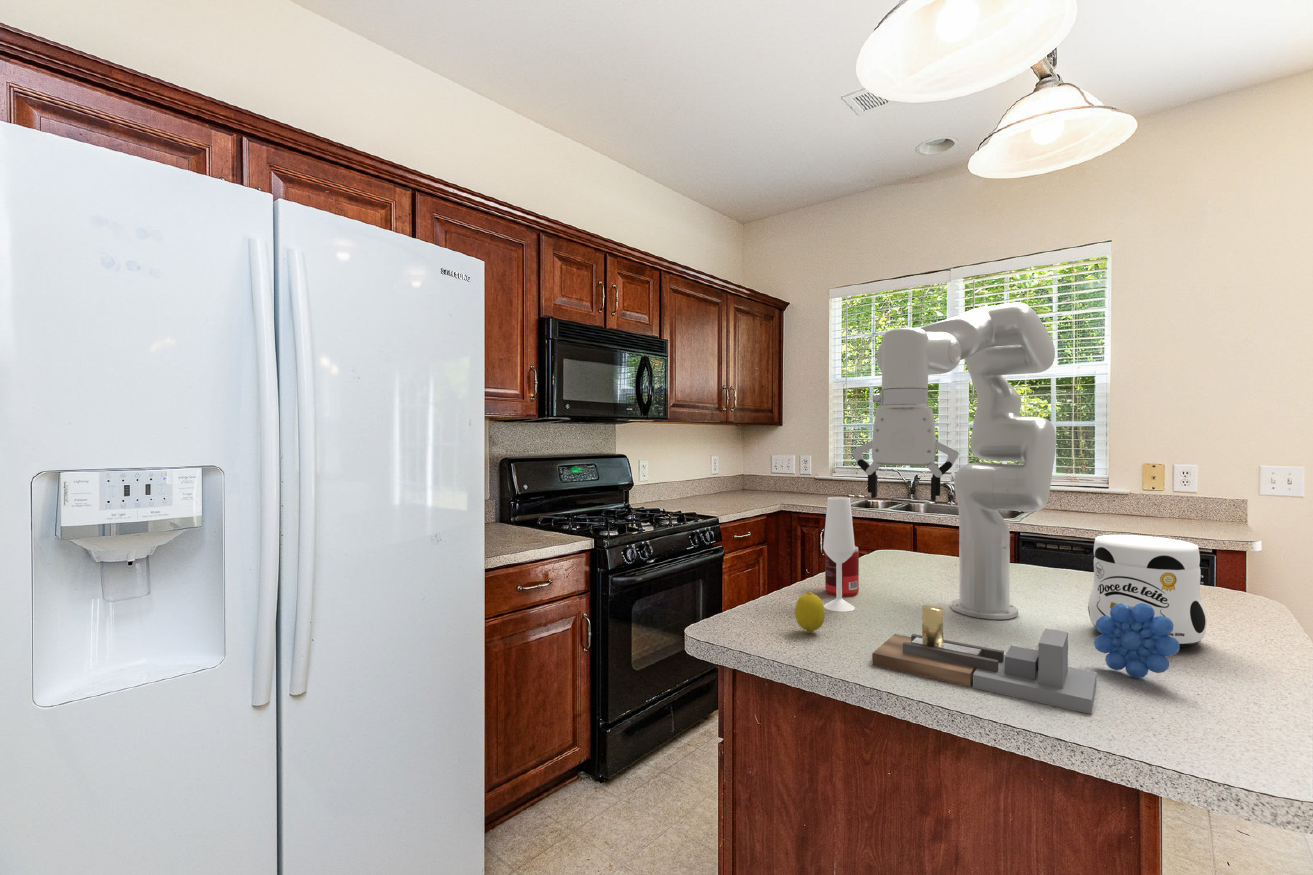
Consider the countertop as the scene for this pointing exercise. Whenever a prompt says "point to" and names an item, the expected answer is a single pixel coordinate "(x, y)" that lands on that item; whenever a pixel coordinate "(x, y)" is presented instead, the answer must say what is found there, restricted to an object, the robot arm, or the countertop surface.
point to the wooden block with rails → (935, 660)
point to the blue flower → (1136, 640)
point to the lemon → (810, 612)
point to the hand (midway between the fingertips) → (903, 498)
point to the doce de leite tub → (1150, 581)
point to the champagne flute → (839, 544)
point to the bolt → (938, 632)
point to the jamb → (1041, 675)
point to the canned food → (843, 575)
